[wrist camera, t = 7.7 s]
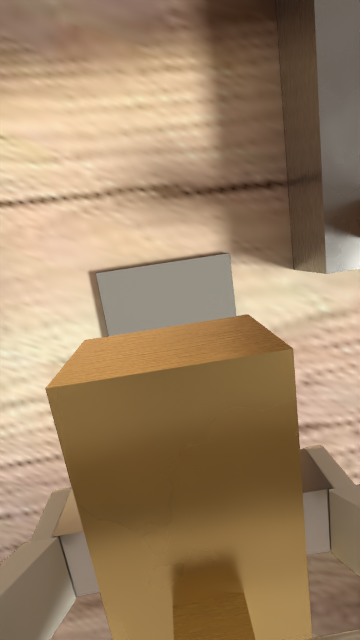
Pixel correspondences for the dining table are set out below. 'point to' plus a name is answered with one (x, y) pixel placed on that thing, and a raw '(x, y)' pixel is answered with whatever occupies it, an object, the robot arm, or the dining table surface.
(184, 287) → the mat
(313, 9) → the plane body
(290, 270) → the dining table surface
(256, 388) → the yellow block
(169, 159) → the dining table surface
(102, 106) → the dining table surface
